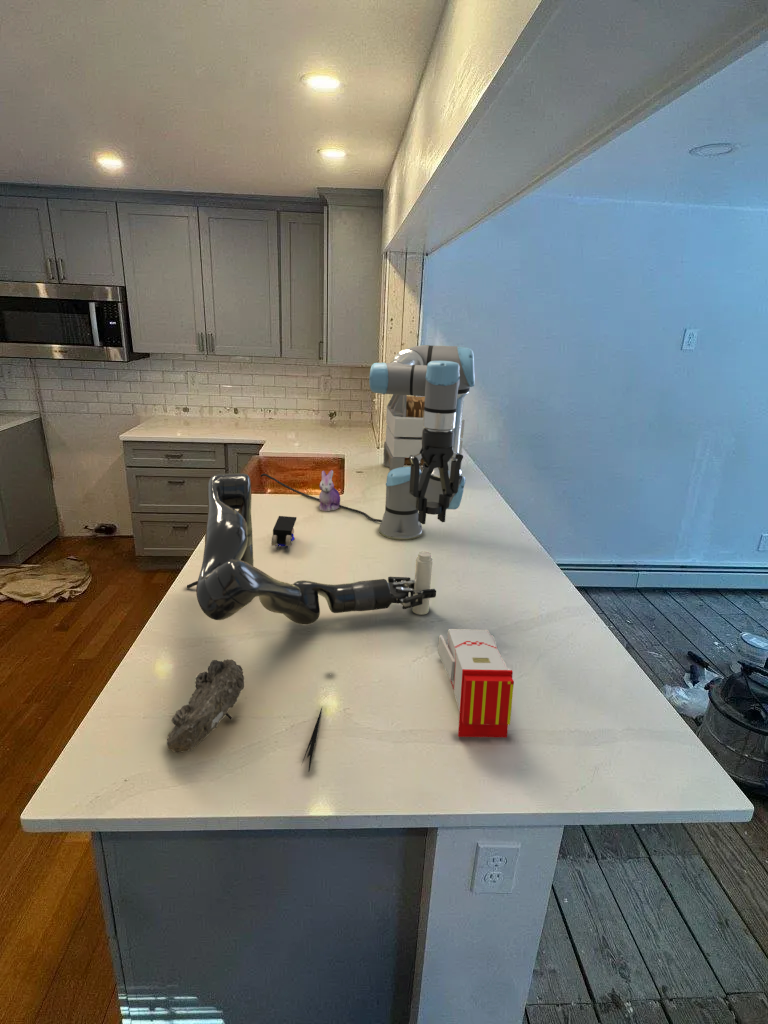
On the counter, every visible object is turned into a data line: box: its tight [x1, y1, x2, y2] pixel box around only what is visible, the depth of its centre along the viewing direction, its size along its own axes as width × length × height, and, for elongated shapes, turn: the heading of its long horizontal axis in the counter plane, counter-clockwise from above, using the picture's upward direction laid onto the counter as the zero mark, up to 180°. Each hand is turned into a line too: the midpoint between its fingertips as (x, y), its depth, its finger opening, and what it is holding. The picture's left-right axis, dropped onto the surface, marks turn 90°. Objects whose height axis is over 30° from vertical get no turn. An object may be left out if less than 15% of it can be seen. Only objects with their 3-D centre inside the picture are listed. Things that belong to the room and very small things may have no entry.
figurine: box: [318, 469, 341, 512], centre depth 220 cm, size 9×10×15 cm
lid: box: [426, 502, 442, 515], centre depth 140 cm, size 5×5×2 cm
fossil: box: [166, 658, 245, 754], centre depth 106 cm, size 22×10×15 cm
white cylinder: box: [412, 550, 434, 616], centre depth 147 cm, size 4×4×16 cm
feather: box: [301, 673, 332, 771], centre depth 108 cm, size 2×28×2 cm
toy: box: [437, 628, 515, 738], centre depth 117 cm, size 12×13×30 cm
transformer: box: [383, 394, 465, 472], centre depth 268 cm, size 34×33×41 cm
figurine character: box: [270, 515, 297, 551], centre depth 186 cm, size 7×8×15 cm
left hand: (431, 588), depth 148 cm, fingers closed on white cylinder, 4 cm apart
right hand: (431, 521), depth 141 cm, fingers closed on lid, 5 cm apart
